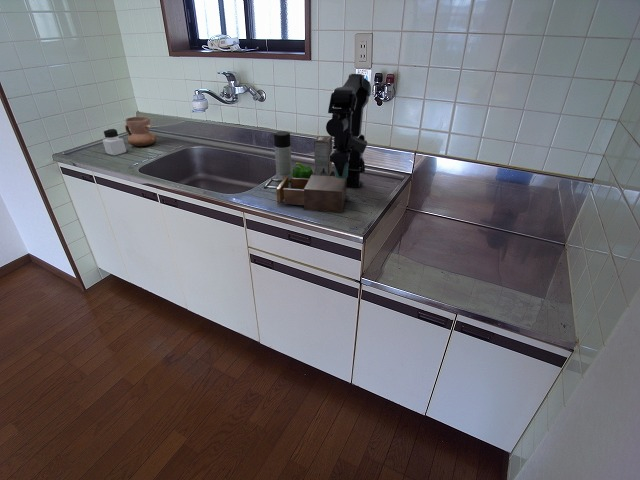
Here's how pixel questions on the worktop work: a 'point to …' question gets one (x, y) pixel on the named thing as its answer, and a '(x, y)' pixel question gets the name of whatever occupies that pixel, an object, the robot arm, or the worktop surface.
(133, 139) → the ceramic jug
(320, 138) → the coffee box
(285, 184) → the drawer
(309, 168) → the bell pepper
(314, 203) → the cabinet
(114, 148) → the medicine bottle
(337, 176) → the tea tin
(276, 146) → the spray can
